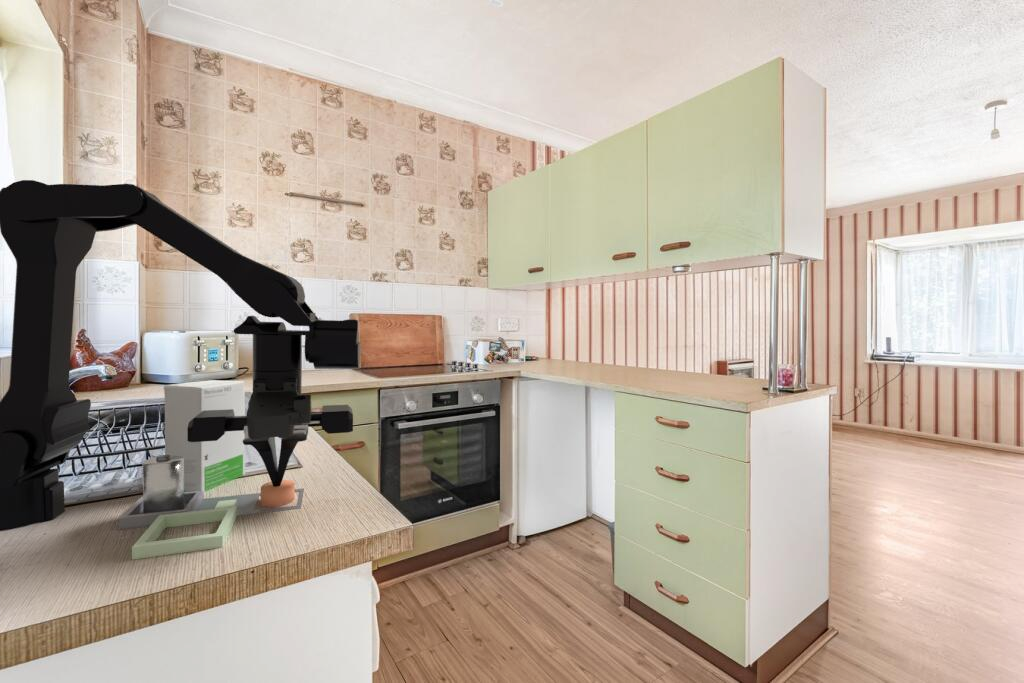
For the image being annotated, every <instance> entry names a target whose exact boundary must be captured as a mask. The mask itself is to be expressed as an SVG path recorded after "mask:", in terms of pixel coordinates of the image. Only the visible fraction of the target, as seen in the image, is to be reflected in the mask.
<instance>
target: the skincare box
mask: <svg viewBox="0 0 1024 683" xmlns="http://www.w3.org/2000/svg"><path fill="white" fill-rule="evenodd" d="M245 382H246V381H245V380H221V379H219V380H218V379H217V380H215V379H209V380H200V381H191V382H190V381H189V382H181V383H173V384H166V385H164V386H163V390H164V447H165V448H164V455H178V456H183V457H184V492H192V491H203V493H205V492H207V491H211V490H213V489H214V488H217V487H220V486H222V485H224V484H226V483H228V482H229V483H230V482H231V481H233V480H235V479H237V478H240V477H243V476H244V475H246V445H244V444H243V440H244V438H245V434H244V430H242V431H225V434H224V435H223V436H222V437H220V438H219V439H218V440H217V441H204V442H188V424H189V422H190V421H191V420H192V419H193V418H194V417H196V416H197V415H198V414H200V413H201V412H202V411H205V410H229V409H233V411H234V414H235V416H246V415H245V414H246V410H245V408H246V405H245V403H246V399H245V398H246V394H245V392H246V390H245V385H246V384H245Z"/></svg>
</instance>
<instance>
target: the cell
mask: <svg viewBox="0 0 1024 683" xmlns="http://www.w3.org/2000/svg"><path fill="white" fill-rule="evenodd" d="M141 465H142V496H143V514H147V513H156V512H165V511H174V510H183V509H184V457H183V456H178V455H165V454H161V455H157V456H156V457H152V458H149V459H146V460H143V461H142V464H141Z"/></svg>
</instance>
